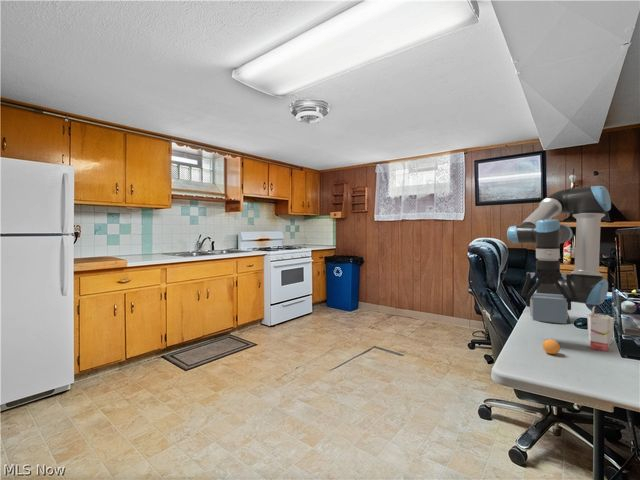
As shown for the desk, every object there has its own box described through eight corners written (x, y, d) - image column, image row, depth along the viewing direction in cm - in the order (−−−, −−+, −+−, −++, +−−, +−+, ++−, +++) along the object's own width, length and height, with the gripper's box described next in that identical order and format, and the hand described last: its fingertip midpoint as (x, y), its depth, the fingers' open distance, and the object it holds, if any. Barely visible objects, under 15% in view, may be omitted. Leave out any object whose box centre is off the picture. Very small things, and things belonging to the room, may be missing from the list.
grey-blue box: (531, 314, 130) (531, 292, 130) (562, 316, 125) (562, 294, 125) (533, 320, 121) (533, 297, 121) (566, 323, 116) (566, 299, 116)
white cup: (603, 339, 128) (603, 314, 128) (619, 345, 120) (619, 319, 120) (582, 338, 129) (582, 313, 129) (596, 345, 121) (597, 318, 121)
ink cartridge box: (608, 352, 114) (608, 311, 114) (590, 348, 117) (590, 308, 117) (610, 346, 120) (610, 307, 120) (592, 343, 123) (592, 305, 123)
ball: (543, 348, 110) (542, 355, 114) (561, 351, 108) (559, 358, 111) (542, 335, 114) (541, 342, 117) (560, 337, 111) (558, 344, 114)
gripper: (513, 259, 125) (513, 315, 125) (587, 261, 113) (588, 322, 114) (513, 258, 131) (513, 311, 132) (583, 259, 120) (583, 317, 120)
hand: (548, 316), depth 123 cm, fingers closed on grey-blue box, 10 cm apart
